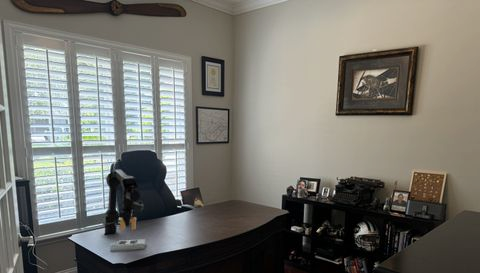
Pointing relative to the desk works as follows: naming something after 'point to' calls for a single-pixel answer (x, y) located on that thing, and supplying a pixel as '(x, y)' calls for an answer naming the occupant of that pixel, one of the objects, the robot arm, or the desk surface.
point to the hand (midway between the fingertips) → (128, 225)
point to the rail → (127, 245)
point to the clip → (132, 220)
